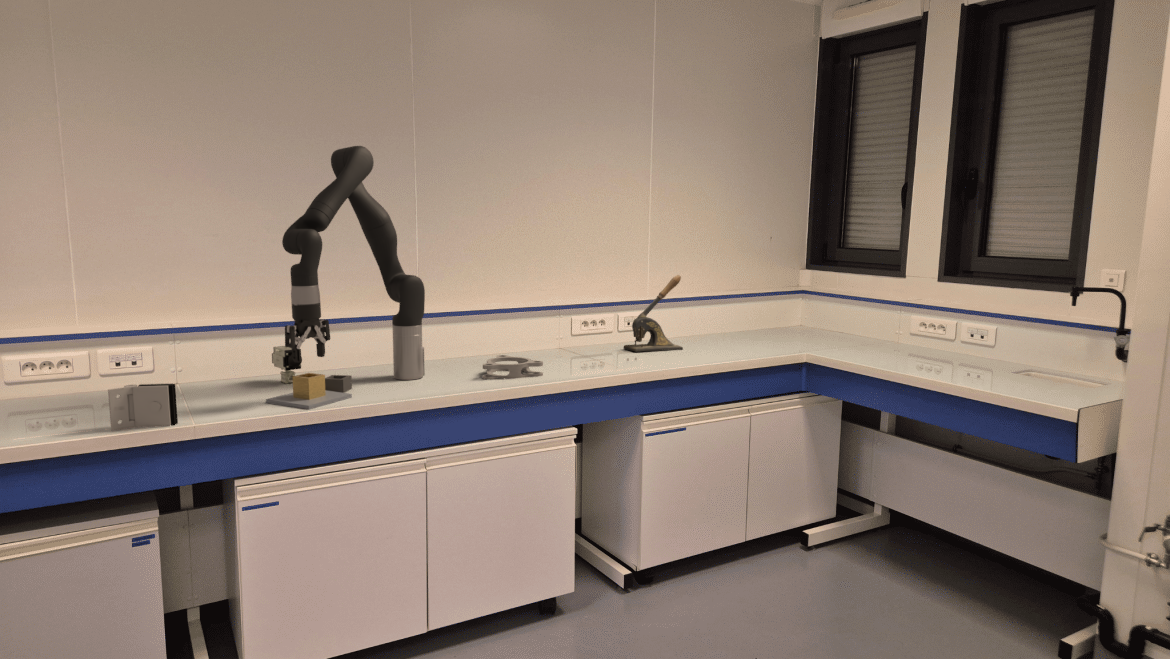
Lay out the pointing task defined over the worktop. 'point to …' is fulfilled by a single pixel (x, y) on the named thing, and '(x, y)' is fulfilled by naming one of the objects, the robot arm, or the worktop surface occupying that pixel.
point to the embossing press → (652, 326)
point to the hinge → (143, 406)
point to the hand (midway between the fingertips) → (309, 359)
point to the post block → (309, 404)
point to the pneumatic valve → (285, 363)
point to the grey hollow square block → (338, 383)
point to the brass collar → (309, 386)
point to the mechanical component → (511, 367)
